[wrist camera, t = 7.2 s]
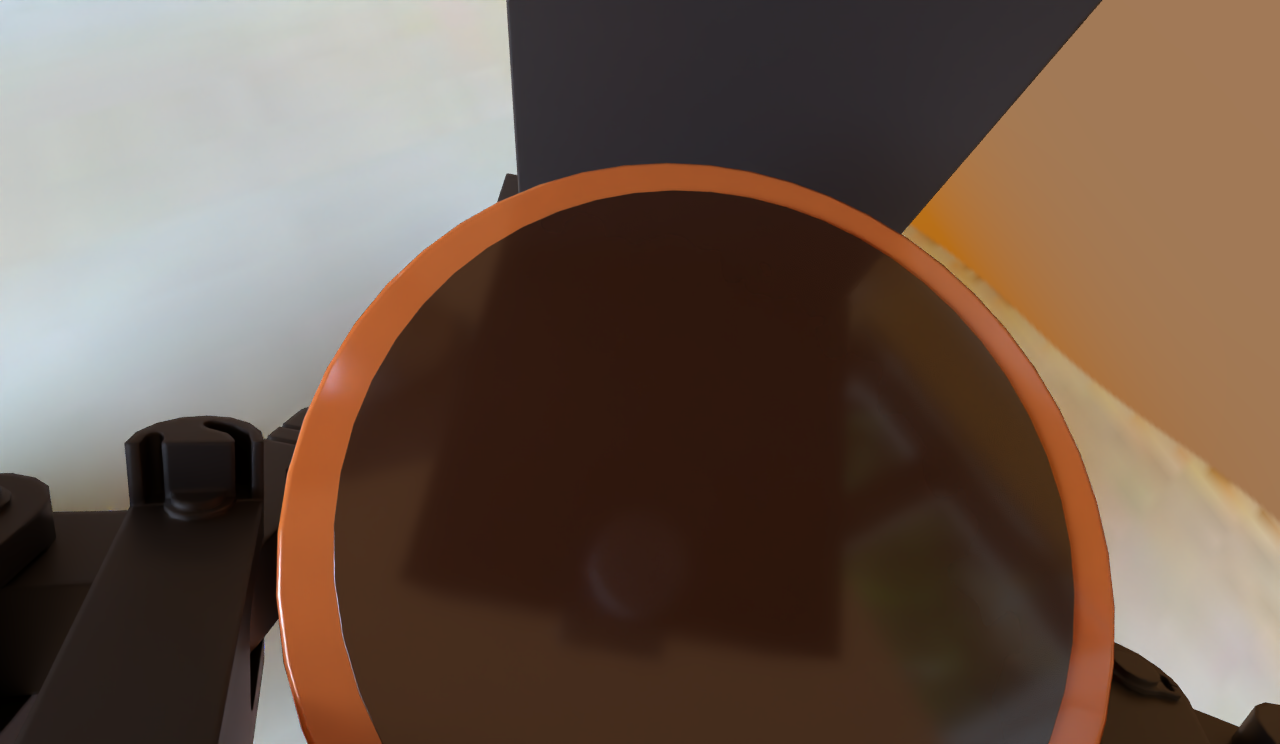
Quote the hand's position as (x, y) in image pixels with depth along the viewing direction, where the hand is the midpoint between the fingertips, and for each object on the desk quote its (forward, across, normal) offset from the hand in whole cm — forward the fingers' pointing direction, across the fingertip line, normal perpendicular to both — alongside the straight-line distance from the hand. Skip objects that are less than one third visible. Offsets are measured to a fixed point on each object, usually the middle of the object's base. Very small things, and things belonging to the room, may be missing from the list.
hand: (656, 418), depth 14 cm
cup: (-1, 0, -4) cm, 4 cm away
